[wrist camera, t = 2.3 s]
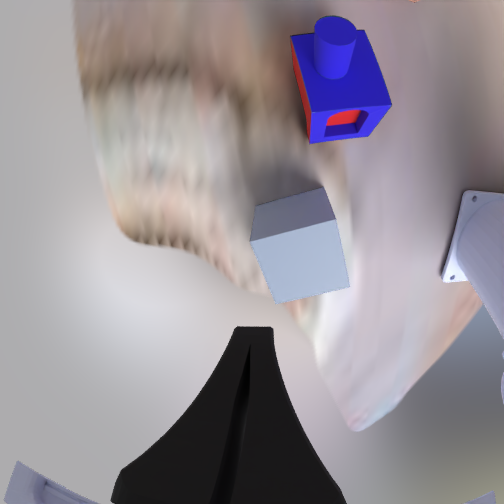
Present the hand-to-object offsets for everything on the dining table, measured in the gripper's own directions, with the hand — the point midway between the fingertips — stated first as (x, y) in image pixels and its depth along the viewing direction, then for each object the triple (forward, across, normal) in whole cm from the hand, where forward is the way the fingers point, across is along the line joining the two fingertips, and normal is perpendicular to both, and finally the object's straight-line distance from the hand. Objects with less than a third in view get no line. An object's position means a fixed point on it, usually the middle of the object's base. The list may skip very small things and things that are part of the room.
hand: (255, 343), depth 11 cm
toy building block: (+10, -4, -8) cm, 14 cm away
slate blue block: (+10, -2, 0) cm, 10 cm away
